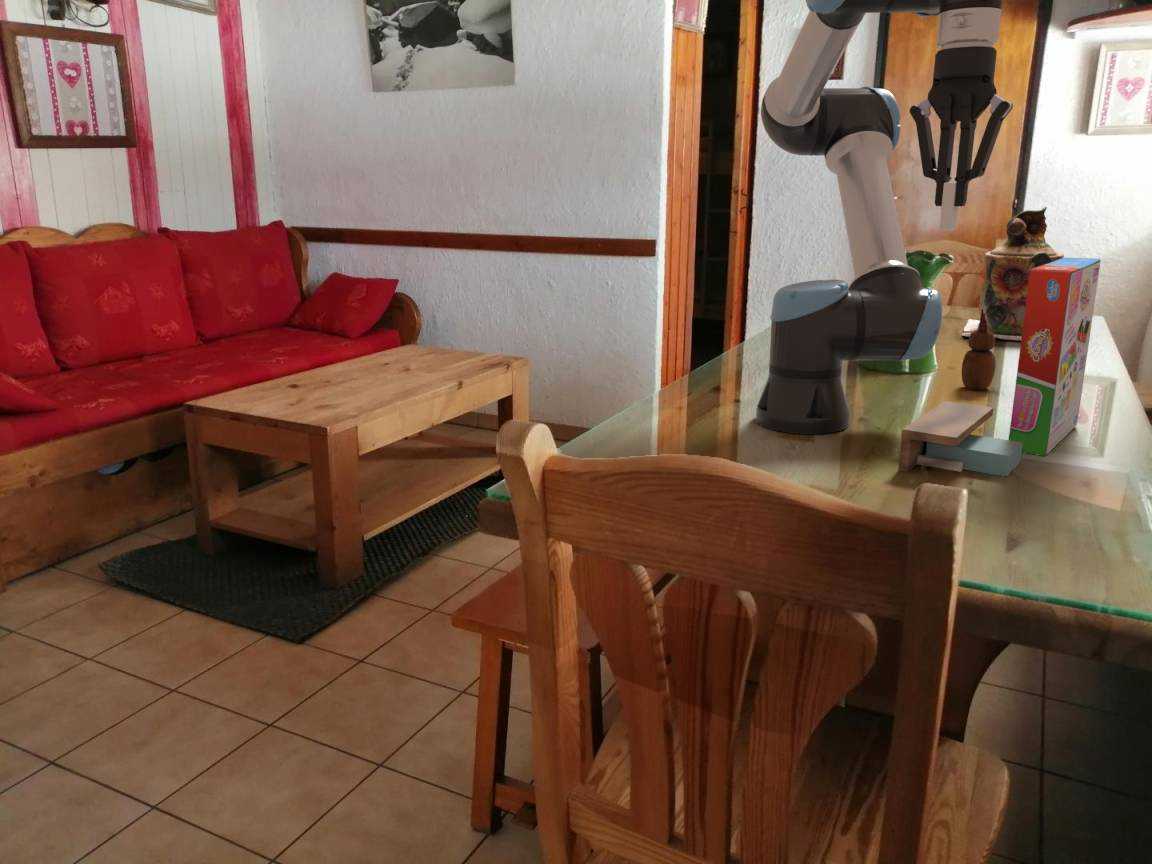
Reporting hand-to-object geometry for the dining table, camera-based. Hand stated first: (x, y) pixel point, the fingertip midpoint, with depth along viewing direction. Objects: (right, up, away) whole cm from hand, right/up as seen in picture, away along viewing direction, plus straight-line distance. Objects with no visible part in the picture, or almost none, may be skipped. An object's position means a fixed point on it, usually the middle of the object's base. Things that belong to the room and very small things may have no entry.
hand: (947, 231), depth 125 cm
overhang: (+3, -32, +7) cm, 33 cm away
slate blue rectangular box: (+6, -32, +5) cm, 33 cm away
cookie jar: (+61, -3, +107) cm, 123 cm away
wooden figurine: (+26, -20, +49) cm, 59 cm away
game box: (+22, -29, +16) cm, 40 cm away
